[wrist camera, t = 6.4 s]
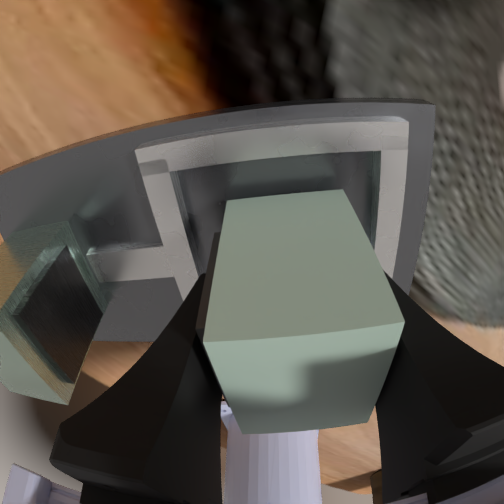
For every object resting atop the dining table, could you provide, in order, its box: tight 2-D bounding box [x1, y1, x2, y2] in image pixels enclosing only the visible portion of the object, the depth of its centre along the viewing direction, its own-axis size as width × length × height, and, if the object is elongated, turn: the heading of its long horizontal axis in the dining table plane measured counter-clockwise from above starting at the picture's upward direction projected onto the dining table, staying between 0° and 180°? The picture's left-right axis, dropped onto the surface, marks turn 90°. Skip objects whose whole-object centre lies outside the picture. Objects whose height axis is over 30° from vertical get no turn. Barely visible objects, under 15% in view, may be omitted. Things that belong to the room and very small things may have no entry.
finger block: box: [195, 189, 405, 434], centre depth 10 cm, size 4×5×6 cm
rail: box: [0, 98, 435, 405], centre depth 11 cm, size 20×11×7 cm, turn 98°
